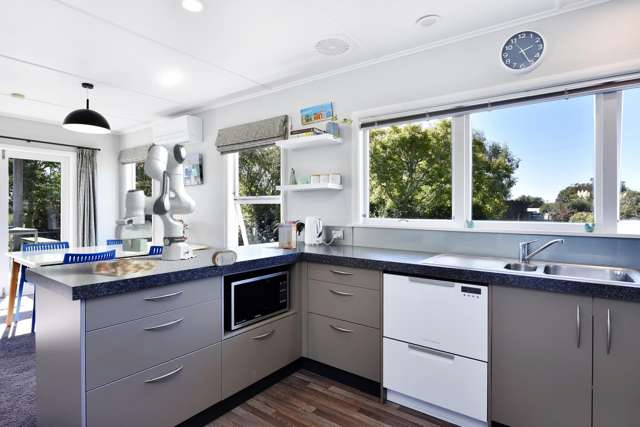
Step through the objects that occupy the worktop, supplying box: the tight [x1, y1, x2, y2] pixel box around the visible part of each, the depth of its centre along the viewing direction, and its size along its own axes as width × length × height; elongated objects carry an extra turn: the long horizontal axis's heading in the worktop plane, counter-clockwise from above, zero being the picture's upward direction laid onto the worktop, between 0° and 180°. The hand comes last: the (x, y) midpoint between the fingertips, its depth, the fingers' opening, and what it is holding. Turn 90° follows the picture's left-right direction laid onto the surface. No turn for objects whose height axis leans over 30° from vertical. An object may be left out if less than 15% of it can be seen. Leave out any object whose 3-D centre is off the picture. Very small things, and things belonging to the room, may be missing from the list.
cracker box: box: [278, 222, 297, 249], centre depth 281 cm, size 14×6×21 cm, turn 58°
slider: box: [121, 238, 148, 253], centre depth 175 cm, size 4×12×6 cm, turn 71°
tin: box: [211, 249, 238, 267], centre depth 191 cm, size 15×3×8 cm, turn 141°
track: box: [92, 259, 156, 277], centre depth 170 cm, size 22×16×5 cm
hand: (134, 247), depth 175 cm, fingers closed on slider, 4 cm apart
